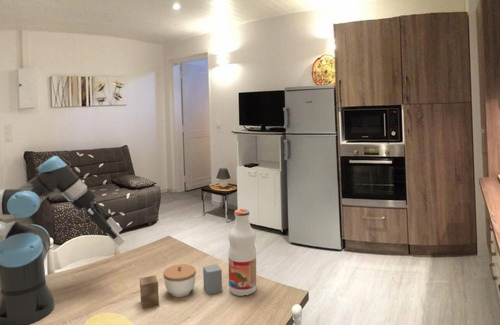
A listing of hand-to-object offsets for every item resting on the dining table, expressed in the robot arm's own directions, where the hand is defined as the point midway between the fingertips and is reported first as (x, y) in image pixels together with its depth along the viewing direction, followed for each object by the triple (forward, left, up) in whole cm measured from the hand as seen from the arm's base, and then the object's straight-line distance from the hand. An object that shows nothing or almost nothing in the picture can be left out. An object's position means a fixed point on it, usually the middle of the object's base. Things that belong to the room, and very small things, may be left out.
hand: (120, 237), depth 130 cm
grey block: (+28, -23, -15) cm, 39 cm away
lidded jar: (+17, -20, -16) cm, 31 cm away
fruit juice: (+37, -27, -16) cm, 49 cm away
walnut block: (+7, -23, -15) cm, 29 cm away
